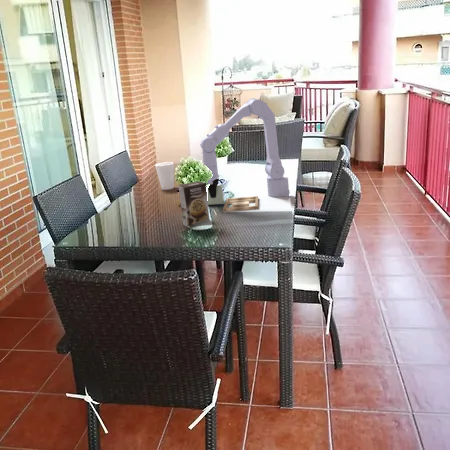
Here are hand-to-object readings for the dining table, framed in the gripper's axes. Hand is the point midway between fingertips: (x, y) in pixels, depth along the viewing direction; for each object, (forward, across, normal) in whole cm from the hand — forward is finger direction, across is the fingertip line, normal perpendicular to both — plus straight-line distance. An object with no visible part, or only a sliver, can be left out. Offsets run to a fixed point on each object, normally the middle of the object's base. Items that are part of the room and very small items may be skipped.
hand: (213, 196), depth 208 cm
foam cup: (+5, -42, -29) cm, 51 cm away
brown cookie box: (+5, +23, -5) cm, 24 cm away
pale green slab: (+4, 0, 0) cm, 4 cm away
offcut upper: (+3, +10, +12) cm, 16 cm away
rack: (+4, +5, +12) cm, 14 cm away
